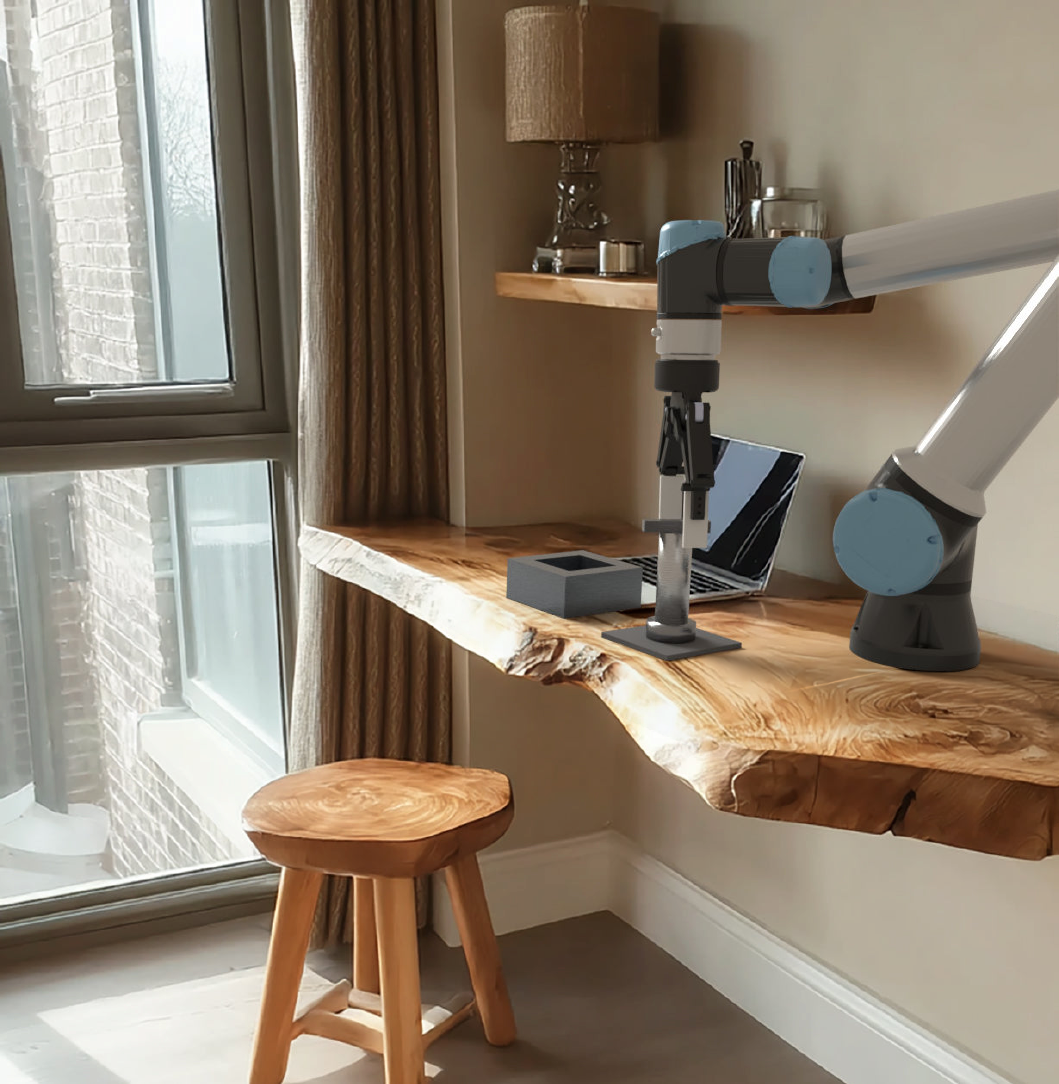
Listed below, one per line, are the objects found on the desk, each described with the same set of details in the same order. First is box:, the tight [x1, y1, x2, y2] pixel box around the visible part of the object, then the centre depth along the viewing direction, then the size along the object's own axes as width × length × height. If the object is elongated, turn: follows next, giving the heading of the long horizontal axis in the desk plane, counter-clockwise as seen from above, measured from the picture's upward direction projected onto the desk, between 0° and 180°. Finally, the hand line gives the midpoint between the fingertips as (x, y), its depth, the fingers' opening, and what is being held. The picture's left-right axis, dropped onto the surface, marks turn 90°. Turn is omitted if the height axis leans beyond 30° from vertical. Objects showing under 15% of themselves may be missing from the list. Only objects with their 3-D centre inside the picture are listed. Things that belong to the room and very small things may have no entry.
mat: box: [600, 624, 743, 662], centre depth 157 cm, size 12×12×1 cm
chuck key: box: [641, 518, 712, 644], centre depth 155 cm, size 8×6×14 cm
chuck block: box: [505, 549, 644, 619], centre depth 175 cm, size 13×13×6 cm
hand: (681, 537), depth 154 cm, fingers open, 13 cm apart
